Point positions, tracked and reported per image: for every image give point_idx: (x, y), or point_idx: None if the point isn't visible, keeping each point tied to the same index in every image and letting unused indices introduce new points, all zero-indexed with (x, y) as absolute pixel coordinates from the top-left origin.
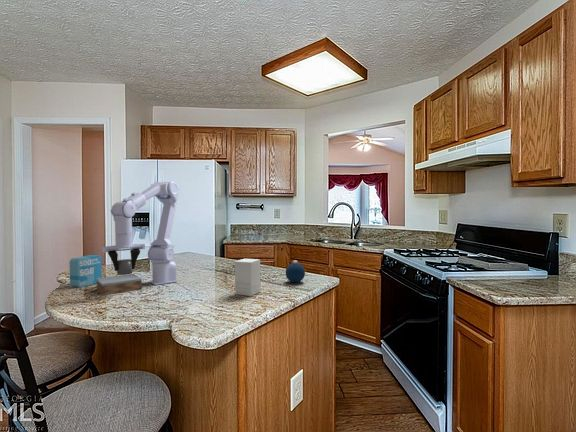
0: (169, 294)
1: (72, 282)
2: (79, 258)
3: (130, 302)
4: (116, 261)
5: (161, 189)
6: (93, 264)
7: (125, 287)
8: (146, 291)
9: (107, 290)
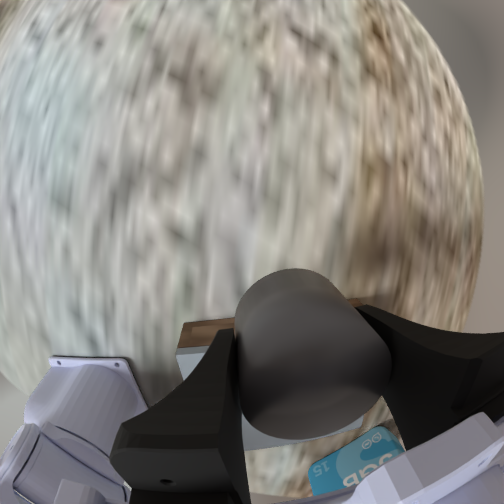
0: (78, 145)
1: (396, 438)
2: None
3: (265, 86)
4: (412, 334)
5: None
6: None
7: None
8: (164, 268)
9: None
